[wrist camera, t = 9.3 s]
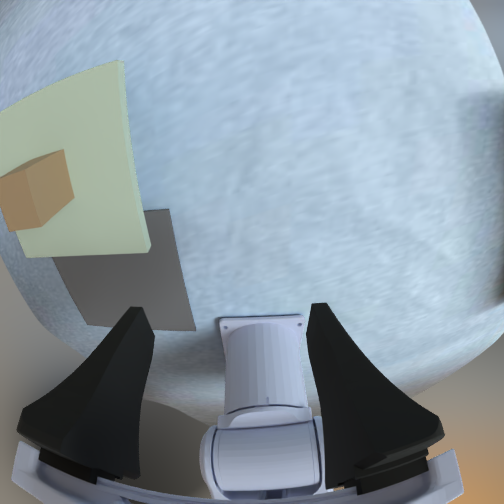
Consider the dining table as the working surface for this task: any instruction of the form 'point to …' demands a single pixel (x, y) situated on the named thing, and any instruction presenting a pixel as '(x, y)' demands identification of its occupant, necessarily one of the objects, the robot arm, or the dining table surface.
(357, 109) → the dining table surface
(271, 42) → the dining table surface
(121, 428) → the robot arm
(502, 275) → the dining table surface
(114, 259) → the mat
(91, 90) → the cover
